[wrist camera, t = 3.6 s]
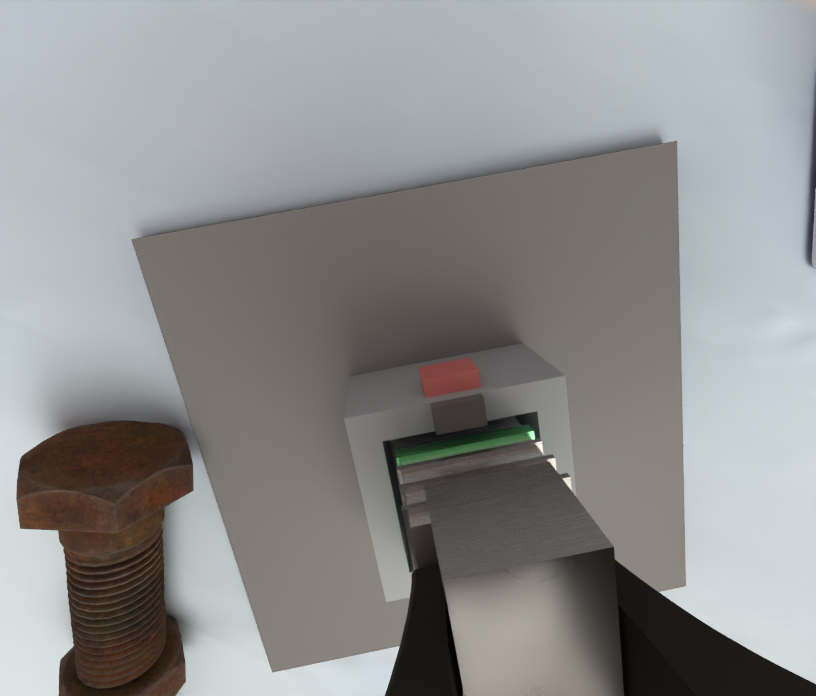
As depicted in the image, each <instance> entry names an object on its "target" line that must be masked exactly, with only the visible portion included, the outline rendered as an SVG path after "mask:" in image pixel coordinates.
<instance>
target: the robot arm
mask: <svg viewBox="0 0 816 696" xmlns="http://www.w3.org/2000/svg"><path fill="white" fill-rule="evenodd" d="M812 265H813V267H814V268H815V269H816V190H815V209H814V227H813V245H812ZM615 568H616V583H617V598H618V613H619V627H620V642H621V657H622V672H623V686H624V696H816V684H814V683H812V682H810V681H808V680H806V679H804V678H802V677H800V676H798V675H796V674H794V673H792V672H790V671H788V670H786V669H784V668H782V667H780V666H778V665H776V664H774V663H773V662H771V661H769V660H767V659H765V658H763V657H761V656H759V655H758V654H756V653H754V652H752V651H751V650H749V649H747V648H745V647H744V646H742V645H740V644H738V643H737V642H735V641H733V640H731V639H730V638H728V637H726V636H725V635H723V634H721V633H719V632H718V631H716V630H715V629H713V628H711V627H710V626H708V625H706V624H705V623H703V622H702V621H700V620H699V619H697V618H696V617H694V616H693V615H691V614H690V613H688V612H687V611H685V610H684V609H682V608H681V607H679V606H678V605H676V604H675V603H673V602H672V601H670V600H669V599H668V598H666V597H665V596H663V595H662V594H661V593H659V592H658V591H656V590H655V589H654V588H652V587H651V586H650V585H648V584H647V583H645V582H644V581H643V580H641V579H640V578H639V577H637V576H636V575H635V574H633V573H632V572H631V571H629V570H628V569H627V568H625V567H624V566H623V565H622V564H620V563H619V562H618V561H616V560H615ZM385 696H463V689H462V684H461V678H460V673H459V668H458V662H457V657H456V652H455V646H454V641H453V636H452V630H451V625H450V620H449V615H448V609H447V604H446V599H445V593H444V588H443V583H442V578H441V574H440V569H439V564H438V565H433V566H429V567H424V568H419V569H415V570H414V572H413V573H412V583H411V593H410V600H409V606H408V612H407V617H406V622H405V626H404V631H403V635H402V639H401V644H400V648H399V651H398V655H397V658H396V662H395V665H394V668H393V672H392V675H391V678H390V682H389V685H388V688H387V691H386V694H385Z"/></svg>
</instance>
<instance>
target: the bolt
mask: <svg viewBox="0 0 816 696" xmlns="http://www.w3.org/2000/svg"><path fill="white" fill-rule="evenodd" d="M192 491H193V463H192V459H191V454H190V450H189V447H188V445H187V442H186V439H185V436H184V434H183V433H182V432H181V431H178V430H176V429H173V428H171V427H169V426H166V425H163V424H160V423H146V422H136V421H114V422H104V423H98V424H91V425H85V426H79V427H75V428H71V429H67V430H65V431H62V432H60V433H58V434H56V435H54V436H52V437H50V438H48V439H47V440H45V441H43V442H41V443H40V444H38V445H37V446H36V447H34V448H33V449H31V450H30V451H28V452H27V453H25V454H24V455H23V456H22V457H21V459H20V464H19V472H18V479H17V506H18V514H19V522H20V529H40V530H58V532H59V540H60V543H61V544H62V546H63V547H64V554H65V561H66V568H67V572H66V574H67V590H68V598H69V606H70V613H71V626H72V632H73V639H74V642H73V643H74V646H73V647H72V648H71V650H70V651H69V652H68V653H67V654H66V655H65V656H64V657H63V658H62V659H61V661H60V671H59V696H175V695H176V694H177V693H178V691H179V690H180V689H181V687H182V686H183V684H184V683H185V682H186V677H185V658H184V652H183V646H182V641H181V636H180V632H179V628H178V624H177V622H176V620H174V619H172V618H169V617H166V616H165V602H164V563H163V561H164V557H163V539H162V533H163V529H162V522H163V520H164V516H165V515H164V507H165V506H167V505H169V504H170V503H172V502H174V501H176V500H177V499H179V498H181V497H183V496H185V495H186V494H188V493H190V492H192Z"/></svg>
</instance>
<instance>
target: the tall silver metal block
mask: <svg viewBox="0 0 816 696" xmlns="http://www.w3.org/2000/svg"><path fill="white" fill-rule="evenodd" d="M487 423H488V425H486V426H481V427H476V428H471V429H466V430H461V431H456V432H451V433H445V434H440V435H437V434H436V431H433V432H428V433H423V434H418V435H413V436H408V437H403V438H399V444H400V450H395V453H396V461H397V465H398V466H397V471H398V476H399V481H400V485H399V490H400V495H401V500H402V505H403V506H401V510H402V515H403V520H404V525H405V530H406V535H407V539H408V544H409V549H410V554H411V559H412V564H413V569H414V570H415V569H419V568H424V567H429V566H433V565H438V564H439V569H440V574H441V578H442V583H443V588H444V593H445V599H446V604H447V609H448V615H449V620H450V625H451V630H452V636H453V641H454V646H455V652H456V657H457V662H458V668H459V673H460V678H461V684H462V689H463V696H624V686H623V672H622V657H621V642H620V627H619V613H618V598H617V583H616V568H615V554H614V546H613V545H612V543H611V542H610V541H609V539H608V538H607V537H606V536H605V534H604V533H603V532H602V530H601V529H600V528H599V526H598V525H597V524H596V522H595V521H594V520H593V518H592V517H591V516H590V514H589V513H588V512H587V510H586V509H585V508H584V507H583V505H582V504H581V503H580V501H579V500H578V499H577V497H576V496H575V495H574V493H573V492H572V487H571V477H570V476H569V474H568V473H564V474H558V472H557V470H556V460H555V457H554V456H553V454H551V455H546V456H544V454H543V445H542V440H541V439H540V438H538V439H535V435H534V430H533V429H532V428H531V427H530V425H529V424H528V425H523V426H522V425H521V424H520V423H519V421H518V420H517V419H516V418H515V416H510V417H505V418H500V419H495V420H490V421H487Z"/></svg>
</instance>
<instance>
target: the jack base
mask: <svg viewBox="0 0 816 696" xmlns="http://www.w3.org/2000/svg"><path fill="white" fill-rule="evenodd" d="M131 240H132V243H133V246H134V249H135V252H136V255H137V258H138V261H139V264H140V267H141V270H142V273H143V277H144V280H145V283H146V286H147V289H148V292H149V295H150V298H151V301H152V304H153V307H154V310H155V313H156V316H157V320H158V323H159V326H160V329H161V332H162V335H163V338H164V341H165V344H166V347H167V350H168V353H169V356H170V359H171V363H172V366H173V369H174V372H175V375H176V378H177V381H178V384H179V387H180V390H181V393H182V396H183V399H184V402H185V406H186V409H187V412H188V415H189V418H190V421H191V424H192V427H193V430H194V433H195V436H196V439H197V442H198V445H199V449H200V452H201V455H202V458H203V461H204V464H205V467H206V470H207V473H208V476H209V479H210V482H211V485H212V488H213V492H214V495H215V498H216V501H217V504H218V507H219V510H220V513H221V516H222V519H223V522H224V525H225V528H226V531H227V535H228V538H229V541H230V544H231V547H232V550H233V553H234V556H235V559H236V562H237V565H238V568H239V571H240V574H241V578H242V581H243V584H244V587H245V590H246V593H247V596H248V599H249V602H250V605H251V608H252V611H253V614H254V617H255V621H256V624H257V627H258V630H259V633H260V636H261V639H262V642H263V645H264V648H265V651H266V654H267V657H268V660H269V663H270V667H271V670H272V672H277V671H281V670H286V669H291V668H296V667H301V666H305V665H310V664H315V663H320V662H325V661H329V660H334V659H339V658H344V657H348V656H353V655H358V654H363V653H368V652H372V651H377V650H382V649H387V648H392V647H396V646H400V644H401V639H402V635H403V631H404V626H405V622H406V617H407V612H408V606H409V600H410V593H411V583H412V573H413V572H414V569H413V564H412V559H411V554H410V549H409V544H408V539H407V535H406V530H405V525H404V520H403V515H402V510H401V506H403V505H402V500H401V495H400V490H399V485H400V481H399V476H398V471H397V466H398V465H397V461H396V453H395V450H400V444H399V438H403V437H408V436H413V435H418V434H423V433H428V432H433V431H436V434H437V435H440V434H445V433H451V432H456V431H461V430H466V429H471V428H476V427H481V426H486V425H488V423H487V421H490V420H495V419H500V418H505V417H510V416H515V418H516V419H517V420H518V421H519V423H520V424H521V425H522V426H523V425H528V424H529V425H530V427H531V428H532V429H533V430H534V435H535V439H538V438H540V439H541V440H542V445H543V454H544V456H546V455H551V454H553V456H554V457H555V460H556V470H557V472H558V474H564V473H568V474H569V476H570V477H571V487H572V492H573V493H574V495H575V496H576V497H577V499H578V500H579V501H580V503H581V504H582V505H583V507H584V508H585V509H586V510H587V512H588V513H589V514H590V516H591V517H592V518H593V520H594V521H595V522H596V524H597V525H598V526H599V528H600V529H601V530H602V532H603V533H604V534H605V536H606V537H607V538H608V539H609V541H610V542H611V543H612V545H613V546H614V554H615V560H616V561H618V562H619V563H620V564H622V565H623V566H624V567H625V568H627V569H628V570H629V571H631V572H632V573H633V574H635V575H636V576H637V577H639V578H640V579H641V580H643V581H644V582H645V583H647V584H648V585H650V586H651V587H652V588H654V589H655V590H656V591H658V592H660V591H665V590H670V589H674V588H679V587H684V586H686V573H685V523H684V474H683V424H682V374H681V324H680V274H679V224H678V175H677V141H674V142H668V143H663V144H657V145H652V146H646V147H641V148H635V149H630V150H624V151H619V152H613V153H608V154H602V155H596V156H591V157H585V158H580V159H574V160H569V161H563V162H558V163H552V164H547V165H541V166H535V167H530V168H524V169H519V170H513V171H508V172H502V173H497V174H491V175H486V176H480V177H474V178H469V179H463V180H458V181H452V182H447V183H441V184H436V185H430V186H425V187H419V188H413V189H408V190H402V191H397V192H391V193H386V194H380V195H375V196H369V197H364V198H358V199H352V200H347V201H341V202H336V203H330V204H325V205H319V206H314V207H308V208H303V209H297V210H291V211H286V212H280V213H275V214H269V215H264V216H258V217H253V218H247V219H242V220H236V221H230V222H225V223H219V224H214V225H208V226H203V227H197V228H192V229H186V230H181V231H175V232H169V233H164V234H158V235H153V236H147V237H142V238H136V239H131Z"/></svg>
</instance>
